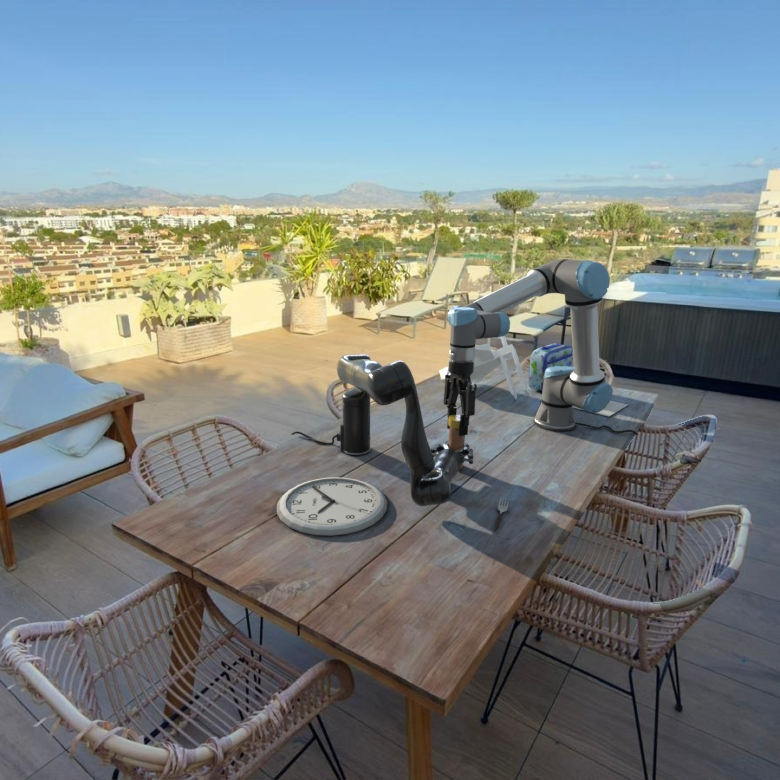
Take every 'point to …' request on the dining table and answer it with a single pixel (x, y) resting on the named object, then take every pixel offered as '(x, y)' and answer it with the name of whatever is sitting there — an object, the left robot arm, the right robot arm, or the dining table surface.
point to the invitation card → (610, 408)
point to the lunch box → (547, 362)
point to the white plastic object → (494, 364)
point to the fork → (501, 509)
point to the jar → (456, 440)
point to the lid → (454, 421)
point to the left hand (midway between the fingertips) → (458, 444)
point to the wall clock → (331, 506)
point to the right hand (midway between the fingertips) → (457, 431)
